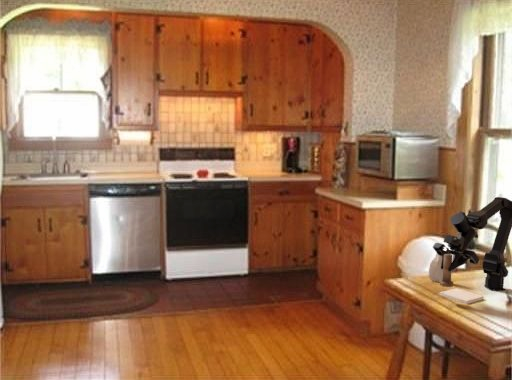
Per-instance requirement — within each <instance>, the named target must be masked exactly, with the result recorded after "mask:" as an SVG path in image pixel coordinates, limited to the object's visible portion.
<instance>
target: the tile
mask: <svg viewBox="0 0 512 380" xmlns="http://www.w3.org/2000/svg"><path fill="white" fill-rule="evenodd" d="M439 296H441V297H444V298H447V299H450V300H453V301H457V302H459V303H462V304H465V305H467V304H470V303H475V302H478V301H481V300H482V301H483V300H484V296H483V295H480V294H476V293H473V292H470V291H467V290H464V289H461V288H457V287H456V288H451V289H448V290H444V291H439Z"/></svg>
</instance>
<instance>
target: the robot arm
mask: <svg viewBox="0 0 512 380" xmlns="http://www.w3.org/2000/svg"><path fill="white" fill-rule="evenodd" d="M497 213H499V216H500V217H499V218H500V223H499V226H498V227H497V232H496V235H495V238H494V242H493V245H492V247H491V250H490V251H489V252H485V254H484V257H483V259H482V263H481V264H482V270H483V274H486V276H485V279H484V285H483V286H484V287H485V288H487V289H488V290H490V291H506V289H505V287H504V283H505V281H504V280H505V278H506V277H507V276H508V275H509V270H508V269H507V267H506V266H505V265H506V259H505V256H504V253H505V251H506V250H505V249H506V247H507V243H508V241H509V238H510V234H511V231H512V200H510V199H508V198H507V197H500V196H497V197H494V199H493V200H492V201H490V202H489V203H487V204H486V205H485V206H484V207H482V208H481V209H479V210H477V211H472V212H470V213H468V214H466V213H465V211H459V213H455V214H454V215H452V216H451V217H450V219H449V221H450V223H451V225H452V226H453V228H454V229H455V231H456V232H457V233H458V235H457V236H455V235H451V234H445V236H444V239H443V241H442V242H443V243H441V242H440V243H439V242H434V244H433V246H432V248H433V250H434V251H435V252H436V254H438V255H440V256H442V263H441V269H443V261H444V254H451V255H452V256H454V259H452V263H451V265H450V267H449V269H448V271H449V272H450V271H451V272H453V271H454V270H455V269H457V268H459V267H461V266H463V265H465V264H466V265H467V264H468V261H469V264H472V265H478V263H479V261H480V258H479V255H478V254H477V253H476V252H475V251H474V250H471V245H470V244H471V243H472V241H474V239H475V238H476V239H478V238H479V234H478V231H477V230H483V229H484V228H485V227H486V226H487V225H488V222H489V221H488V220H489V219H491V218H492V217H493V216H495V215H496V214H497ZM475 229H477V230H475ZM444 243H446V244H447V246H448V247H446V245H445V244H444Z"/></svg>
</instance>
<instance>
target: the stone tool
mask: <svg viewBox="0 0 512 380" xmlns="http://www.w3.org/2000/svg"><path fill="white" fill-rule="evenodd" d="M441 263H442V256H440V255H438V254H437V253H435V256H434V258H433V259H432V260H431V262H430V263H429V268H428V274H427V275H428V276H427V278H429V280H430V281H432V282H438V283H440V281H441V280H443V269H441Z"/></svg>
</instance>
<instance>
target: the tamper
mask: <svg viewBox="0 0 512 380" xmlns="http://www.w3.org/2000/svg"><path fill="white" fill-rule="evenodd" d="M452 262H453V255H452V254H444V261H443V280H441V281H440V282H439V285H440V286H442V287H444V288H452V287H454V281H453V280H452V271H450V272H449V271H448V269H449V267H450V265H451V263H452Z"/></svg>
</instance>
